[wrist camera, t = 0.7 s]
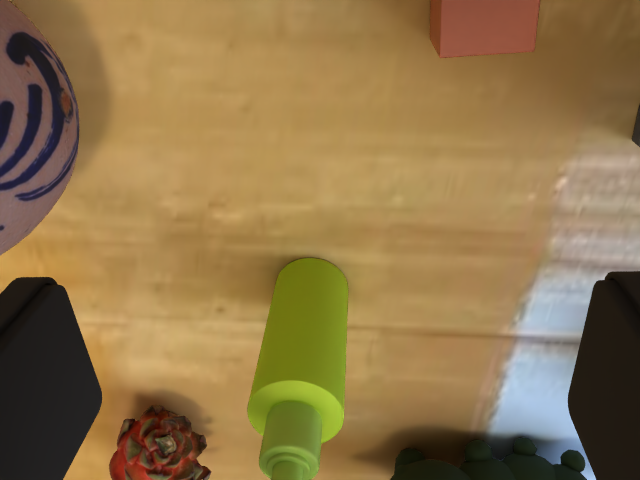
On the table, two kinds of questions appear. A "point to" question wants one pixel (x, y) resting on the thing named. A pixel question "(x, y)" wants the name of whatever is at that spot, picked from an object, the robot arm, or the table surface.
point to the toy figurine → (490, 465)
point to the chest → (637, 130)
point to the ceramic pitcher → (32, 127)
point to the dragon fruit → (158, 449)
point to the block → (483, 26)
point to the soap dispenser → (301, 369)
